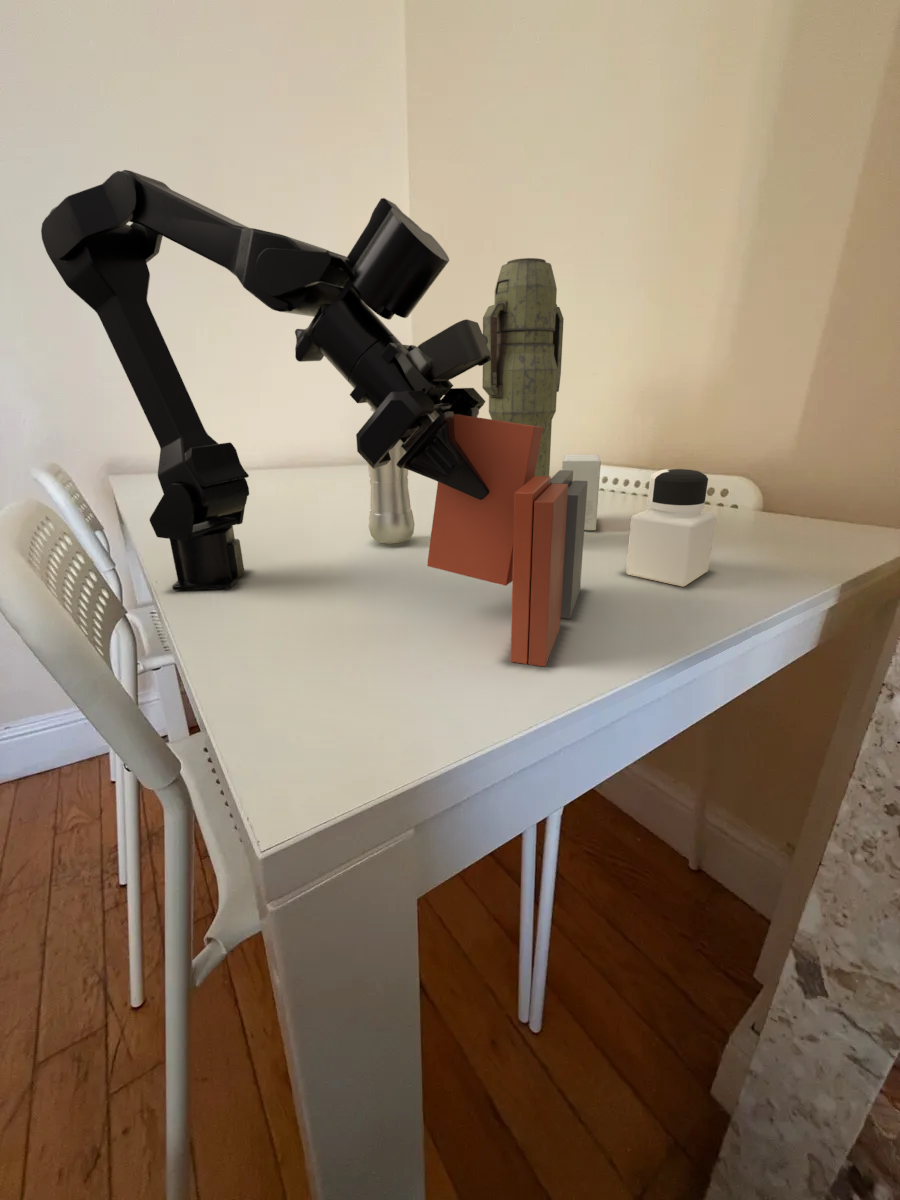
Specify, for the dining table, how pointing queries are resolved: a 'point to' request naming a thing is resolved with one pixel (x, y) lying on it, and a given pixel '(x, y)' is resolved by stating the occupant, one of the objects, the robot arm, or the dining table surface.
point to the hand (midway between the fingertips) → (492, 491)
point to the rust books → (537, 569)
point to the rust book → (484, 500)
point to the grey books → (572, 539)
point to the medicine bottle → (672, 529)
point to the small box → (587, 471)
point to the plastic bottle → (390, 500)
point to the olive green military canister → (525, 349)
